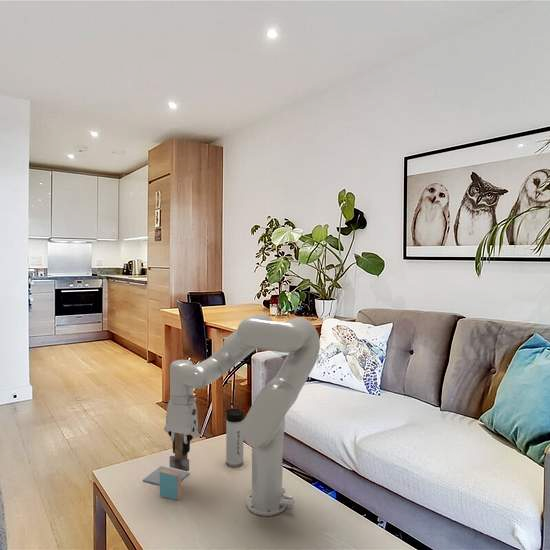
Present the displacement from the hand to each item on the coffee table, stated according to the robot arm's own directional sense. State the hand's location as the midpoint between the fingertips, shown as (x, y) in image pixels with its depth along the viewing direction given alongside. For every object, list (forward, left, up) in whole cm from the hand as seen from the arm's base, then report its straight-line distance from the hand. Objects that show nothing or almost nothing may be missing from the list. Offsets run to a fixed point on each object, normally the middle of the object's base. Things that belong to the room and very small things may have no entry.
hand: (181, 452), depth 141 cm
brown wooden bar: (0, 0, -5) cm, 5 cm away
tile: (0, +6, -12) cm, 13 cm away
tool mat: (+8, -3, -12) cm, 14 cm away
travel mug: (-9, -21, -12) cm, 25 cm away
